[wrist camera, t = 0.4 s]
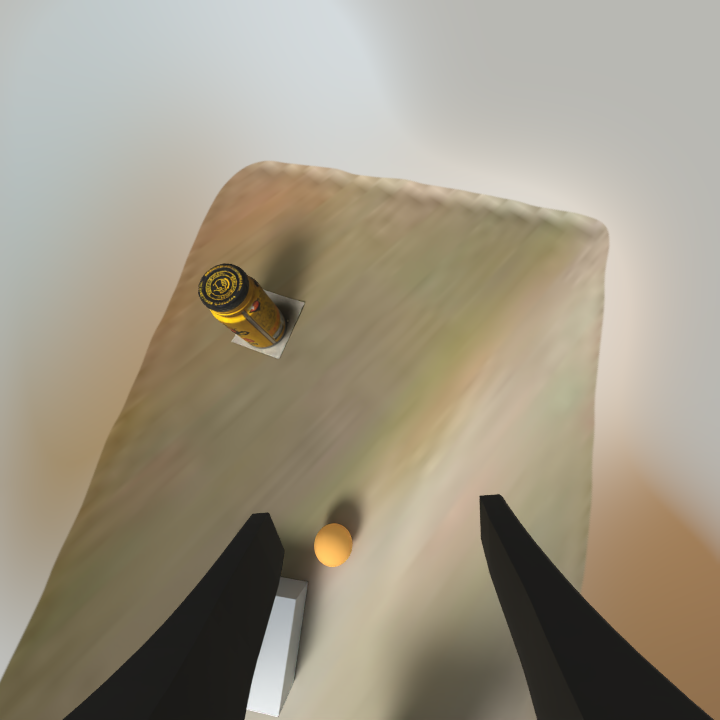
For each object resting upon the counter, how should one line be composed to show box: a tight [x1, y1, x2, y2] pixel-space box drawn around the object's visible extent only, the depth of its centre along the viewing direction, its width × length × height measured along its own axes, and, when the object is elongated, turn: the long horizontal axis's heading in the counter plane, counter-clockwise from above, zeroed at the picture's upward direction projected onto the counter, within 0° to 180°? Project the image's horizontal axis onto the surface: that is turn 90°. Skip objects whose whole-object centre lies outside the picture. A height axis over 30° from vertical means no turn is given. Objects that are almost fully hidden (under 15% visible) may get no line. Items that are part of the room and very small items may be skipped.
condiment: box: [198, 264, 304, 359], centre depth 40 cm, size 7×8×12 cm
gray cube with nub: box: [246, 577, 308, 717], centre depth 32 cm, size 9×9×7 cm
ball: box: [314, 523, 352, 567], centre depth 35 cm, size 4×4×4 cm
